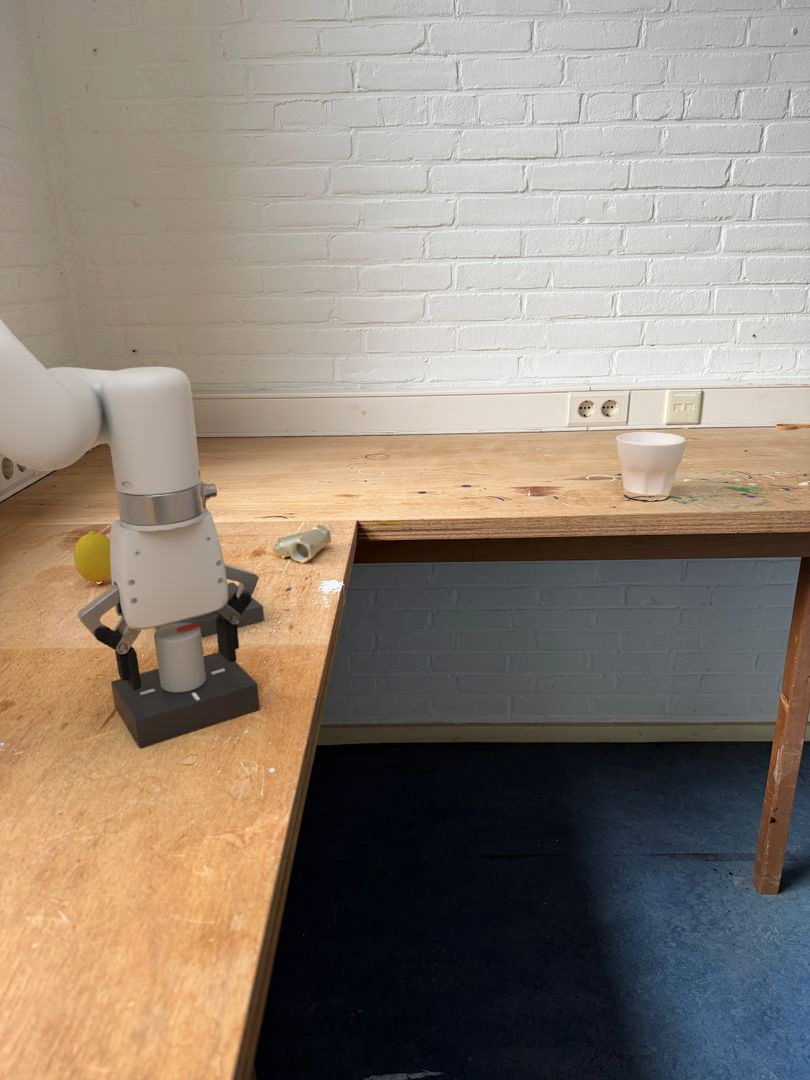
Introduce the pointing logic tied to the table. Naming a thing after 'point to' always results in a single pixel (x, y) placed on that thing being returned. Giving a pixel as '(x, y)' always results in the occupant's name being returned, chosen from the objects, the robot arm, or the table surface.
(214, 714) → the panel
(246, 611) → the switch block
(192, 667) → the timer dial
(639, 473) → the cup
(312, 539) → the pipe fitting
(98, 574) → the lemon
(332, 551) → the table surface
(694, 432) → the table surface
